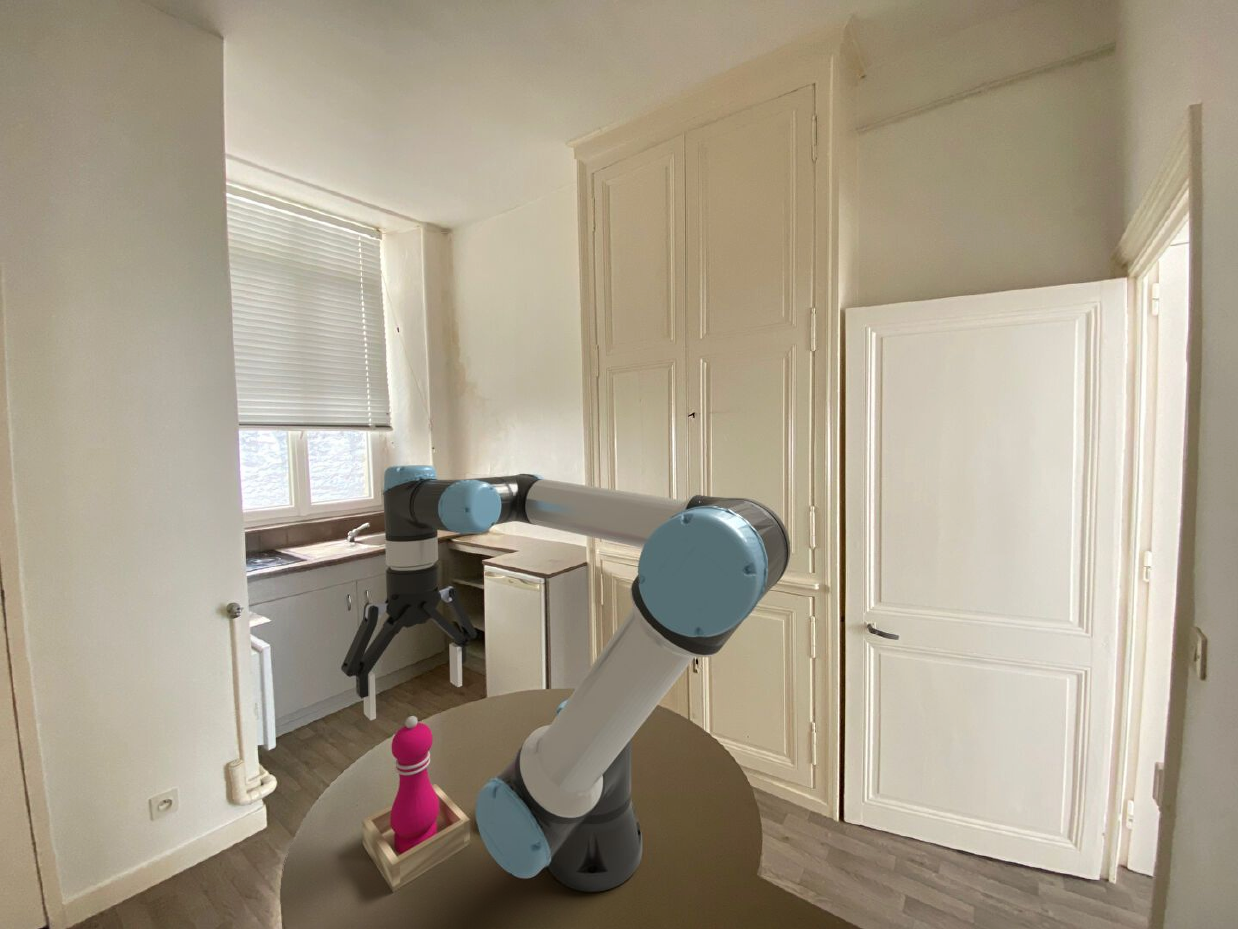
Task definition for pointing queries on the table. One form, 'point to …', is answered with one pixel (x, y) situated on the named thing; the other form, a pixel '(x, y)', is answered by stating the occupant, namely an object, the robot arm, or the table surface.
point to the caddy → (422, 856)
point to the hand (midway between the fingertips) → (415, 699)
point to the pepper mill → (413, 787)
